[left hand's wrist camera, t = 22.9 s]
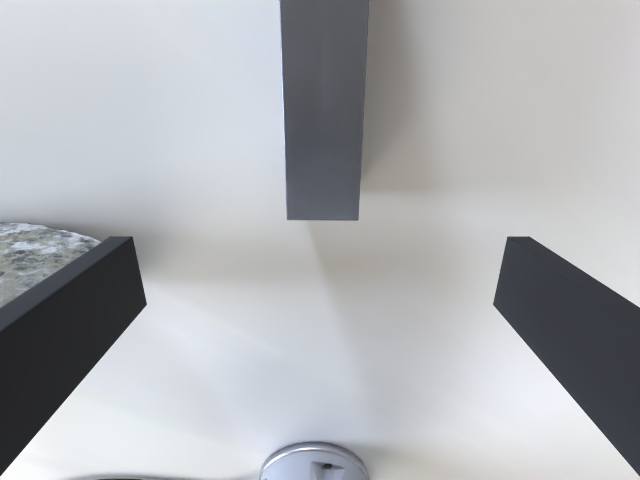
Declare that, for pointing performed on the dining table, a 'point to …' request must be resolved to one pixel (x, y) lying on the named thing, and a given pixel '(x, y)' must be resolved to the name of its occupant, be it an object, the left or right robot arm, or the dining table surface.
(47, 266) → the concrete block
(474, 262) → the dining table surface
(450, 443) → the dining table surface
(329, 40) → the bar
